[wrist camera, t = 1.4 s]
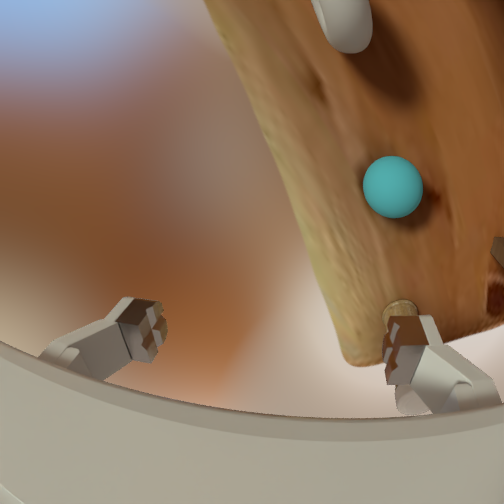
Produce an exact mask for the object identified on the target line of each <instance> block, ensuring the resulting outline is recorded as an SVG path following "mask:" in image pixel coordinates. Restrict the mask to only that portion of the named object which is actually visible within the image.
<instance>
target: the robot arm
mask: <svg viewBox="0 0 504 504" xmlns="http://www.w3.org/2000/svg"><path fill="white" fill-rule="evenodd" d="M163 311H164V310H163V307H162V303H160V302H159V301H155V300H147V299H141V298H132V297H123V299H121V301H120V302H119V303H118V304H117V305H116V306H115V307H114V308H113V310H112V311H111V312H110V313H109V314H108V315H107V316H106V318H105V319H104V320H102V319H101V320H98V321H96V322H93V323H91V324H89V325H87V326H84V327H82V328H80V329H78V330H75V331H73V332H71V333H69V334H67V335H64V336H62V337H60V338H57V339H55V340H53V341H52V342H51V343H50V345H48V347H47V348H46V349H45V350H44V351H43V352H42V353H41V355H40V356H39V357H35V356H33V355H30V354H28V353H26V352H23V351H21V350H19V349H16V348H14V347H12V346H10V345H8V344H6V343H4V342H2V341H0V504H504V403H502V401H501V399H500V396H499V394H498V391H497V389H496V386H495V384H494V381H493V379H492V378H491V377H489V376H488V375H487V374H485V373H484V372H483V371H482V370H480V369H479V368H478V367H476V366H475V365H474V364H472V363H471V362H470V361H468V360H467V359H466V358H464V357H463V356H462V355H461V354H459V353H458V352H457V351H455V350H454V349H452V348H451V347H450V346H448V345H444V344H443V342H442V339H441V337H440V334H439V332H438V330H437V327H436V325H435V323H434V320H433V318H432V316H431V315H417V316H390V317H389V320H388V323H387V327H388V331H389V332H387V333H386V334H385V335H384V339H383V345H382V357H383V362H385V363H386V364H387V365H386V368H385V375H386V381H387V385H410V387H411V388H412V389H413V390H414V391H415V393H416V394H417V395H418V396H419V397H420V398H421V400H422V401H423V402H424V403H425V404H426V406H427V407H428V408H429V409H430V410H431V411H432V413H433V414H429V415H419V416H407V417H390V418H315V417H297V416H284V415H273V414H263V413H254V412H246V411H238V410H230V409H224V408H218V407H212V406H206V405H200V404H195V403H189V402H184V401H179V400H174V399H170V398H166V397H161V396H156V395H152V394H149V393H144V392H140V391H137V390H133V389H129V388H125V387H122V386H119V385H115V384H112V383H108V382H105V381H103V380H104V379H106V378H108V377H109V376H111V375H112V374H114V373H115V372H116V371H118V370H120V369H121V368H122V367H124V366H125V365H127V364H128V363H130V362H131V361H132V360H135V361H140V362H146V363H152V361H153V360H154V358H155V356H156V355H157V353H158V349H157V347H158V346H160V345H162V344H163V343H164V341H165V339H166V336H167V331H168V329H167V322H166V319H165V318H163V316H162V315H161V314H162V313H163Z"/></svg>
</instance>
